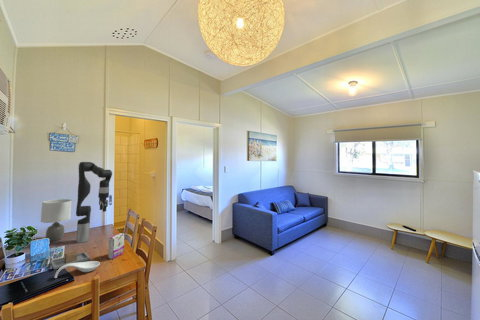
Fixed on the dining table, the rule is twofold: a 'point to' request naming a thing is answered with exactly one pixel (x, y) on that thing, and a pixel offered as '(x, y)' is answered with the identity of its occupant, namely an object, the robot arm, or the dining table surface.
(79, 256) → the tray
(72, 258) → the cube
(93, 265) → the spoon rest
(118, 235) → the candy bar box
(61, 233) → the lamp
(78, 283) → the dining table surface
